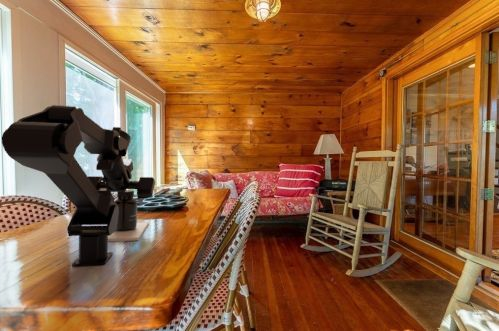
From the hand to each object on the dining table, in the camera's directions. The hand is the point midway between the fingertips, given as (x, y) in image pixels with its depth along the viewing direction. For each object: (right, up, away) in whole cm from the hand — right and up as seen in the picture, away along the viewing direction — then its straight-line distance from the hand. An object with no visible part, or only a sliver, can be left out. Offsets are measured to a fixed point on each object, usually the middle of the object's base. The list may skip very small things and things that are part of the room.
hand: (125, 203), depth 84 cm
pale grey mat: (-1, -9, 0) cm, 9 cm away
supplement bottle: (-1, -8, +1) cm, 8 cm away
